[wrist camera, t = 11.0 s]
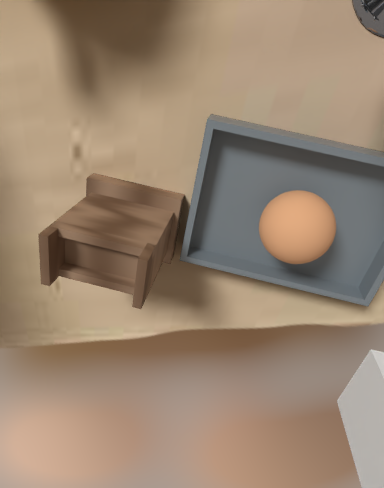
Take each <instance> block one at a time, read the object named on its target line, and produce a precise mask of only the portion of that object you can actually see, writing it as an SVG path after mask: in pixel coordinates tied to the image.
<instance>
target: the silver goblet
mask: <svg viewBox="0 0 384 488" xmlns="http://www.w3.org/2000/svg"><path fill="white" fill-rule="evenodd" d="M352 2H353V7H354V10H355V13H356V15H357V17H358V19H359V20H360V22H361V23H362V24H363V26H364V27H365V28H366V29H367V30H369V31H370V32H372V33H373V34H375V35H378V36H380V37H384V0H352Z"/></svg>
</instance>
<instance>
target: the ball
mask: <svg viewBox="0 0 384 488" xmlns="http://www.w3.org/2000/svg"><path fill="white" fill-rule="evenodd" d="M259 234H260V238H261V241H262V243H263V245H264V247H265V248H266V250H267V251H268V252H269V253H270V254H271V255H272V256H274V257H275V258H277V259H278V260H281V261H283V262H286V263H290V264H304V263H308V262H311V261H314V260H316V259H318V258H319V257H321V256H322V255H323V254H324V253H325V252H326V251H327V250H328V249H329V247H330V246H331V244H332V242H333V240H334V237H335V234H336V220H335V216H334V213H333V211H332V209H331V207H330V206H329V205H328V203H327V202H326V201H325V200H324V199H322V198H321V197H319V196H318V195H316V194H314V193H311V192H308V191H303V190H294V191H288V192H285V193H282V194H280V195H278V196H277V197H275V198H274V199H272V200H271V201H270V202H269V203H268V204H267V206H266V207H265V209H264V210H263V212H262V215H261V217H260V221H259Z"/></svg>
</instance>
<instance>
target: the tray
mask: <svg viewBox="0 0 384 488" xmlns="http://www.w3.org/2000/svg"><path fill="white" fill-rule="evenodd" d="M294 190H303V191H308V192H311V193H314V194H316V195H318V196H319V197H321V198H322V199H324V200H325V201H326V202H327V203H328V205H329V206H330V207H331V209H332V211H333V213H334V216H335V220H336V234H335V237H334V240H333V242H332V244H331V246H330V247H329V249H328V250H327V251H326V252H325V253H324V254H323V255H322V256H321V257H319V258H318V259H316V260H314V261H311V262H308V263H304V264H290V263H286V262H283V261H281V260H278V259H277V258H275V257H274V256H272V255H271V254H270V253H269V252H268V251H267V250H266V248H265V247H264V245H263V243H262V241H261V238H260V234H259V221H260V217H261V215H262V212H263V210H264V209H265V207H266V206H267V204H268V203H269V202H270V201H271V200H272V199H274V198H275V197H277V196H278V195H280V194H282V193H285V192H288V191H294ZM180 261H184V262H188V263H192V264H197V265H201V266H205V267H209V268H213V269H217V270H221V271H225V272H229V273H233V274H237V275H242V276H246V277H250V278H254V279H258V280H262V281H266V282H270V283H274V284H278V285H282V286H287V287H291V288H295V289H299V290H303V291H307V292H311V293H315V294H319V295H323V296H328V297H332V298H336V299H340V300H344V301H348V302H352V303H356V304H360V305H364V306H369V304H370V302H371V301H372V299H373V297H374V295H375V294H376V292H377V290H378V289H379V287H380V285H381V283H382V282H383V280H384V152H381V151H376V150H372V149H367V148H363V147H358V146H353V145H349V144H344V143H340V142H335V141H331V140H326V139H322V138H317V137H313V136H308V135H304V134H299V133H295V132H290V131H285V130H281V129H276V128H272V127H267V126H263V125H258V124H254V123H249V122H245V121H240V120H236V119H231V118H227V117H222V116H217V115H213V114H211V115H210V116H209V118H208V119H207V123H206V128H205V133H204V139H203V144H202V149H201V154H200V159H199V164H198V169H197V174H196V179H195V185H194V190H193V195H192V200H191V205H190V210H189V215H188V220H187V225H186V231H185V236H184V241H183V246H182V251H181V256H180Z"/></svg>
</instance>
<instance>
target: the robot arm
mask: <svg viewBox="0 0 384 488" xmlns="http://www.w3.org/2000/svg"><path fill="white" fill-rule="evenodd" d="M337 402H338V406H339V409H340V413H341V417H342V420H343V424H344V427H345V431H346V434H347V438H348V442H349V445H350V448H351V452H352V455H353V459H354V462H355V466H356V470H357V473H358V476H359V480H360V484H361V487H362V488H384V352H380V351H375V350H370V351H369V353H368V354H367V356H366V357H365V359H364V361H363V362H362V364H361V365H360V367H359V368H358V370H357V371H356V373H355V374H354V376H353V377H352V379H351V380H350V382H349V383H348V385H347V386H346V388H345V390H344V391H343V393H342V394H341V396H340V397H339V399H338V400H337Z"/></svg>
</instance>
